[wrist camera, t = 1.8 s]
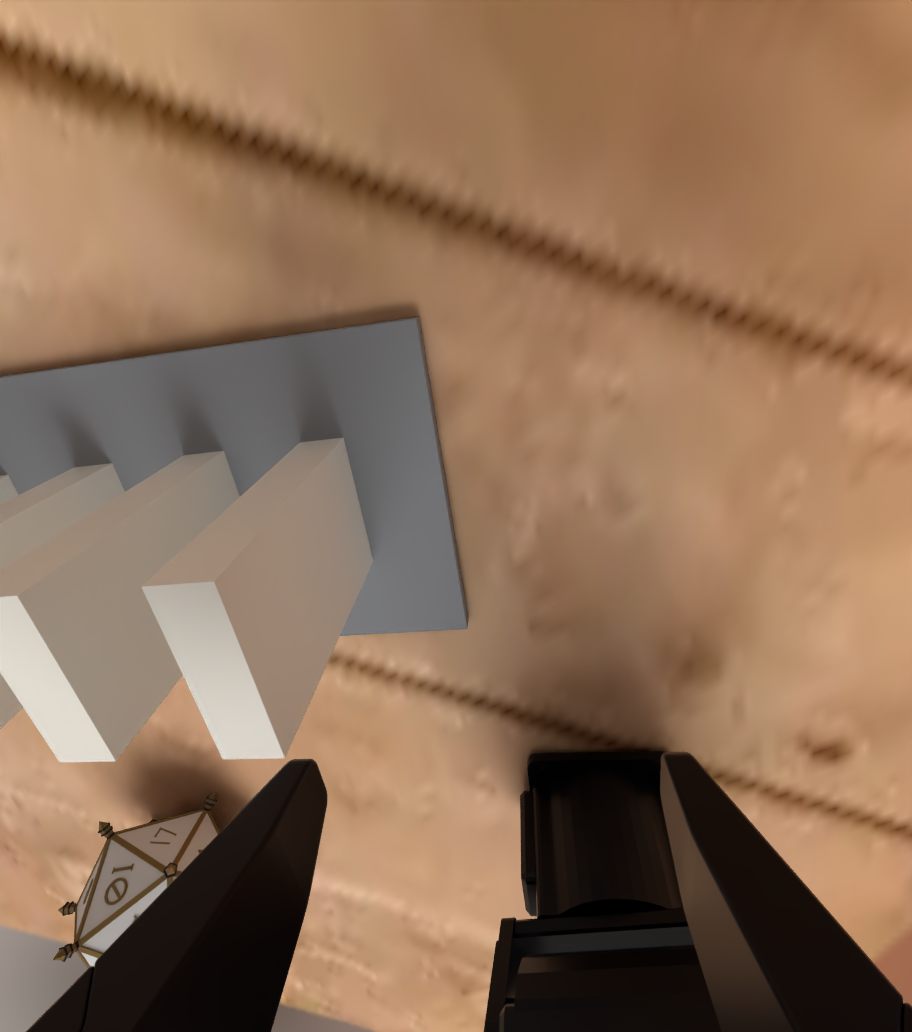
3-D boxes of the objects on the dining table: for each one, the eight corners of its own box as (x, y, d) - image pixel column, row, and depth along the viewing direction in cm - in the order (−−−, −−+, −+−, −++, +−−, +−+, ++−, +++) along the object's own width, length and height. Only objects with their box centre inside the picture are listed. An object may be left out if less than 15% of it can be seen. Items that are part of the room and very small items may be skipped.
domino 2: (223, 451, 19) (16, 595, 11) (264, 569, 21) (115, 761, 13) (183, 455, 19) (-48, 600, 11) (227, 571, 22) (59, 762, 14)
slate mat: (419, 316, 17) (415, 318, 17) (468, 619, 22) (467, 629, 22) (-229, 409, 21) (-248, 413, 20) (-59, 649, 26) (-71, 657, 26)
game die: (237, 785, 35) (143, 972, 30) (112, 747, 29) (-23, 966, 25) (320, 835, 29) (219, 1075, 24) (184, 798, 24) (24, 1096, 19)
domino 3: (343, 437, 19) (214, 581, 11) (373, 561, 21) (284, 758, 13) (300, 442, 19) (140, 586, 11) (334, 564, 21) (222, 759, 13)
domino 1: (112, 463, 20) (-159, 608, 12) (162, 576, 22) (-37, 764, 14) (74, 467, 20) (-216, 612, 12) (128, 579, 22) (-88, 764, 14)
